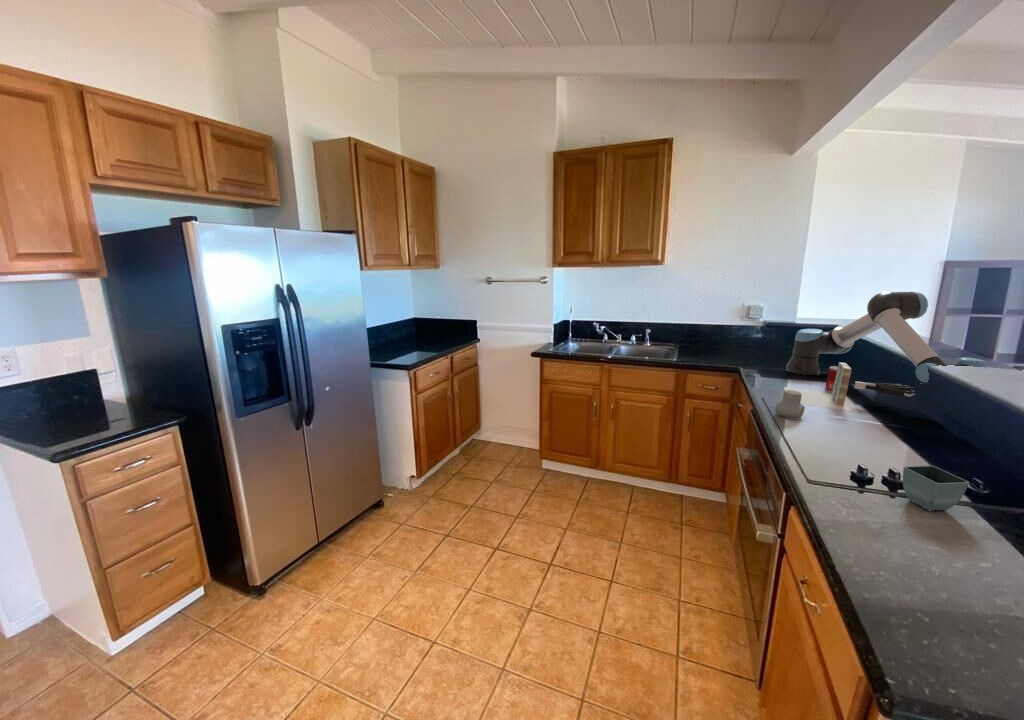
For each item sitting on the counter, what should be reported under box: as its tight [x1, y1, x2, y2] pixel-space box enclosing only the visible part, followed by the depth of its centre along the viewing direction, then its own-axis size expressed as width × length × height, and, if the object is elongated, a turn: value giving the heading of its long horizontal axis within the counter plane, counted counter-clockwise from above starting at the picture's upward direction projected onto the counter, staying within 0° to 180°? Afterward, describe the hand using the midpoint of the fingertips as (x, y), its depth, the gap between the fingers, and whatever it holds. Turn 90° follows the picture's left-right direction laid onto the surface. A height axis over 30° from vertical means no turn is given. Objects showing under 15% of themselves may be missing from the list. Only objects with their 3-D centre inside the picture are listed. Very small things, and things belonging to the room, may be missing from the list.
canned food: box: [825, 365, 838, 392], centre depth 200 cm, size 8×8×11 cm
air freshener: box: [774, 390, 805, 420], centre depth 167 cm, size 11×8×10 cm
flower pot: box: [902, 465, 970, 512], centre depth 108 cm, size 9×9×9 cm
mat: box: [783, 386, 859, 413], centre depth 188 cm, size 24×24×1 cm
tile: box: [831, 362, 852, 406], centre depth 183 cm, size 12×2×16 cm, turn 152°
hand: (855, 384), depth 180 cm, fingers closed
